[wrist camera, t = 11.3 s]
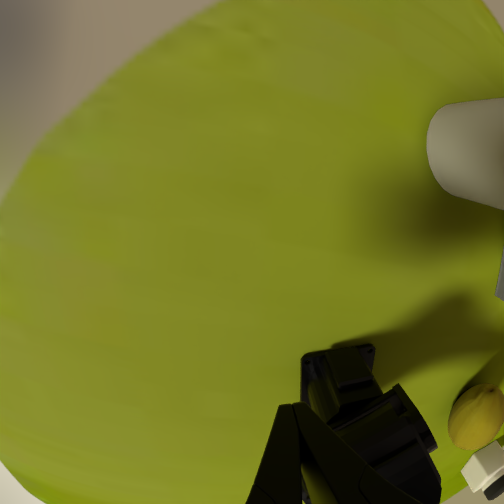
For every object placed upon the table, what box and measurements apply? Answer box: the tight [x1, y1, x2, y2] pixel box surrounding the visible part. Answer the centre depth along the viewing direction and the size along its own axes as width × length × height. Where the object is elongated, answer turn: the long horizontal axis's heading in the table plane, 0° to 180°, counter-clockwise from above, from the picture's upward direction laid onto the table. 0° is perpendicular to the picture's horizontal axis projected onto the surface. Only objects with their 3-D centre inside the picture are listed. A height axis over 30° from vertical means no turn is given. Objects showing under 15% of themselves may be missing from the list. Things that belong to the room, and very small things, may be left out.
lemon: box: [448, 383, 504, 450], centre depth 24 cm, size 11×8×8 cm
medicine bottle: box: [461, 440, 504, 500], centre depth 31 cm, size 7×7×12 cm
